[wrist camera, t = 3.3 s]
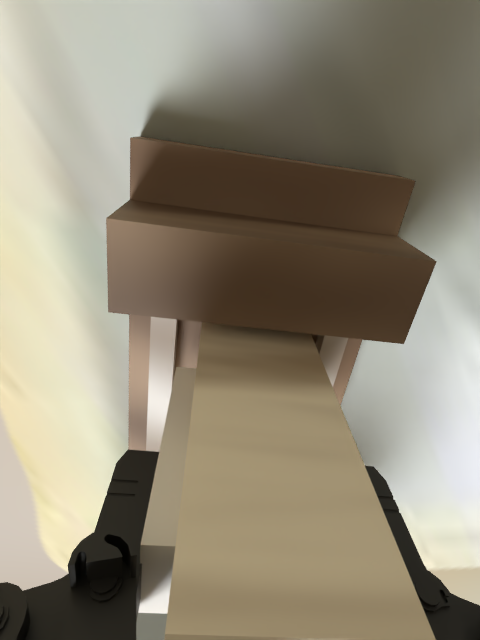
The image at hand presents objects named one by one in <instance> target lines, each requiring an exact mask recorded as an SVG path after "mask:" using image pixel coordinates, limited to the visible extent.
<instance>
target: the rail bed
mask: <svg viewBox="0 0 480 640" xmlns="http://www.w3.org/2000/svg"><path fill="white" fill-rule="evenodd" d="M414 184H415V181H414V180H411V179H407V178H404V177H400V176H396V175H389V174H383V173H376V172H369V171H363V170H356V169H350V168H343V167H337V166H330V165H323V164H317V163H310V162H304V161H297V160H291V159H284V158H277V157H271V156H264V155H258V154H251V153H245V152H238V151H232V150H225V149H218V148H212V147H205V146H199V145H192V144H186V143H179V142H172V141H166V140H159V139H153V138H146V137H133V138H130V200H129V201H128V202H127V203H125V204H124V205H123V206H121V207H120V208H119V209H118V210H116V211H115V212H114V213H113V214H111V215H110V216H109V217H107V218H106V225H107V271H108V312H112V313H121V314H129V449H128V450H142V451H155V452H159V451H160V446H161V441H162V436H163V431H164V426H165V421H166V416H167V411H168V406H169V401H170V396H171V391H172V386H173V381H174V376H175V372H176V367H185V368H197V360H198V351H199V343H200V334H201V326H202V322H205V323H214V324H223V325H233V326H242V327H251V328H261V329H270V330H279V331H289V332H298V333H307V334H311V335H312V338H313V340H314V343H315V345H316V348H317V350H318V353H319V355H320V357H321V360H322V362H323V365H324V367H325V370H326V372H327V375H328V377H329V379H330V382H331V384H332V387H333V389H334V392H335V394H336V397H337V399H338V402H339V404H340V405H341V402H342V399H343V396H344V393H345V390H346V387H347V384H348V381H349V378H350V375H351V372H352V369H353V366H354V363H355V360H356V357H357V354H358V351H359V348H360V345H361V342H362V339H363V340H372V341H381V342H391V343H400V344H404V342H405V340H406V337H407V335H408V332H409V329H410V327H411V324H412V322H413V319H414V317H415V314H416V312H417V309H418V307H419V304H420V302H421V299H422V297H423V294H424V292H425V289H426V287H427V284H428V282H429V279H430V277H431V274H432V271H433V269H434V266H435V264H436V261H435V260H433V259H432V258H430V257H429V256H427V255H426V254H424V253H423V252H421V251H419V250H418V249H416V248H415V247H413V246H412V245H410V244H409V243H407V242H406V241H404V240H402V239H401V238H399V237H398V236H397V235H398V232H399V229H400V226H401V223H402V220H403V217H404V214H405V211H406V208H407V205H408V202H409V199H410V196H411V193H412V190H413V187H414Z"/></svg>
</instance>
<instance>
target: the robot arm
mask: <svg viewBox="0 0 480 640" xmlns="http://www.w3.org/2000/svg"><path fill="white" fill-rule="evenodd" d="M195 377H196V368H185V367H176V372H175V376H174V381H173V386H172V391H171V396H170V401H169V406H168V411H167V416H166V421H165V426H164V431H163V436H162V441H161V446H160V451H159V452H155V451H142V450H127V451H126V453H125V454H124V455H123V456H122V457H121V458H120V460H119V461H118V462H117V463H116V466H115V470H114V473H113V476H112V479H111V482H110V485H109V488H108V491H107V496H106V498H105V501H104V504H103V507H102V510H101V513H100V516H99V519H98V522H97V526H96V529H95V532H94V533H92V534H91V535H89V536H88V537H86V538H85V539H83V540H82V541H81V542H80V543H79V544H78V546H77V547H76V548H75V549H74V551H73V552H72V555H71V558H70V560H69V563H68V571H69V574H67V575H66V576H64V577H63V578H61V579H58V580H56V581H54V582H51V583H48V584H44V585H41V586H38V587H34V588H31V589H28V590H24V591H22V590H21V589H20V587H19V586H17V585H14V584H11V583H8V582H6V583H0V640H136V622H137V617H138V613H162V614H167V612H168V604H169V595H170V587H171V579H172V570H173V562H174V553H175V545H176V536H177V528H178V520H179V511H180V503H181V494H182V486H183V478H184V469H185V461H186V452H187V444H188V435H189V427H190V419H191V410H192V402H193V393H194V385H195ZM365 468H366V470H367V473H368V475H369V477H370V480H371V482H372V485H373V487H374V490H375V492H376V495H377V497H378V499H379V502H380V504H381V507H382V509H383V512H384V514H385V517H386V519H387V521H388V524H389V526H390V529H391V531H392V534H393V536H394V539H395V541H396V544H397V546H398V548H399V551H400V553H401V556H402V558H403V561H404V563H405V566H406V568H407V570H408V573H409V575H410V578H411V580H412V583H413V585H414V588H415V590H416V592H417V595H418V597H419V600H420V602H421V605H422V607H423V610H424V612H425V615H426V617H427V619H428V622H429V624H430V627H431V629H432V632H433V634H434V637H435V639H436V640H480V606H479V605H477V604H474V603H472V602H469V601H467V600H464V599H462V598H459V597H457V596H455V595H453V594H451V593H450V592H449V590H448V589H447V588H446V587H445V586H444V584H443V583H442V582H441V580H439V579H438V578H437V577H436V576H435V575H433V574H432V573H431V572H429V571H427V569H426V567H425V566H424V564H423V562H422V560H421V558H420V555H419V553H418V551H417V549H416V547H415V544H414V542H413V540H412V538H411V535H410V533H409V531H408V529H407V527H406V524H405V522H404V520H403V518H402V515H401V513H399V509H398V507H397V504H396V502H395V500H393V495H392V493H391V491H390V489H389V487H388V484H387V482H386V480H385V479H384V478H383V477H382V476H381V475H380V474H379V472H378V471H377V470H376V469H375V468H374V467H370V466H365Z"/></svg>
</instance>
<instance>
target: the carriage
mask: <svg viewBox="0 0 480 640" xmlns="http://www.w3.org/2000/svg"><path fill="white" fill-rule="evenodd" d="M164 640H436V639H435V637H434V634H433V632H432V629H431V627H430V624H429V622H428V619H427V617H426V615H425V612H424V610H423V607H422V605H421V602H420V600H419V597H418V595H417V592H416V590H415V588H414V585H413V583H412V580H411V578H410V575H409V573H408V570H407V568H406V566H405V563H404V561H403V558H402V556H401V553H400V551H399V548H398V546H397V544H396V541H395V539H394V536H393V534H392V531H391V529H390V526H389V524H388V521H387V519H386V517H385V514H384V512H383V509H382V507H381V504H380V502H379V499H378V497H377V495H376V492H375V490H374V487H373V485H372V482H371V480H370V477H369V475H368V473H367V470H366V468H365V465H364V463H363V460H362V458H361V455H360V453H359V450H358V448H357V446H356V443H355V441H354V438H353V436H352V433H351V431H350V428H349V426H348V424H347V421H346V419H345V416H344V414H343V411H342V409H341V406H340V404H339V402H338V399H337V397H336V394H335V392H334V389H333V387H332V384H331V382H330V379H329V377H328V375H327V372H326V370H325V367H324V365H323V362H322V360H321V357H320V355H319V353H318V350H317V348H316V345H315V343H314V340H313V338H312V335H311V334H307V333H298V332H289V331H279V330H270V329H261V328H251V327H242V326H233V325H223V324H214V323H205V322H202V326H201V334H200V343H199V351H198V360H197V368H196V377H195V385H194V393H193V402H192V410H191V419H190V427H189V435H188V444H187V452H186V461H185V469H184V478H183V486H182V494H181V503H180V511H179V520H178V528H177V536H176V545H175V553H174V562H173V570H172V579H171V587H170V595H169V604H168V612H167V621H166V629H165V638H164Z"/></svg>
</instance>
